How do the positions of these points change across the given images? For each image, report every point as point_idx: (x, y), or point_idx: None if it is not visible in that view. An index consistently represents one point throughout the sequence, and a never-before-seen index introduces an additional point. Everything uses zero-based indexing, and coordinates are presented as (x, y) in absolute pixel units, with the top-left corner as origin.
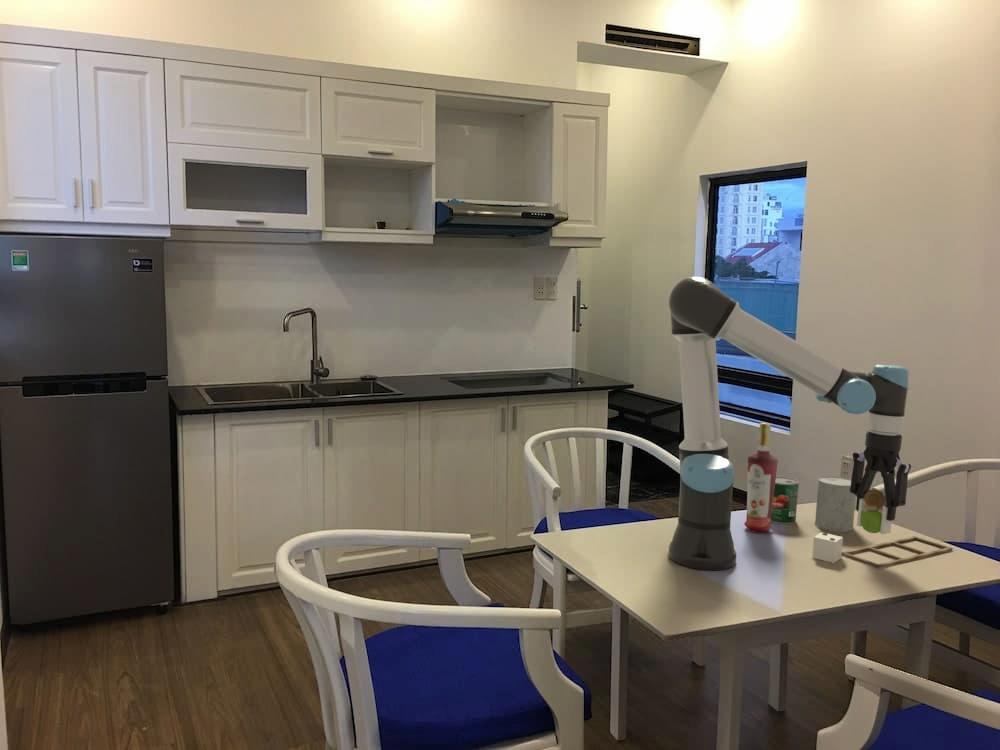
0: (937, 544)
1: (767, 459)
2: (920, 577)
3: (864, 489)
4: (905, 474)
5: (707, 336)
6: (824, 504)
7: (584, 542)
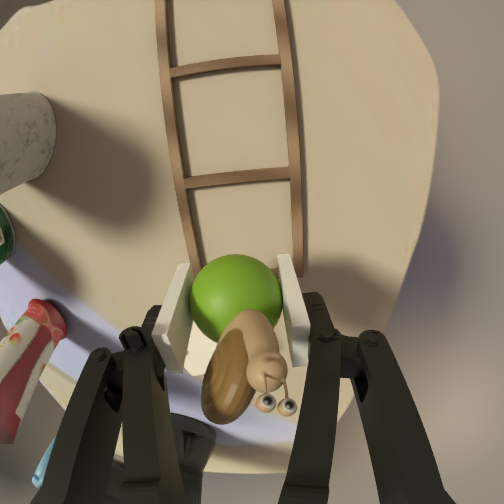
0: None
1: (4, 441)
2: (381, 231)
3: (167, 406)
4: (429, 494)
5: None
6: None
7: (122, 448)
